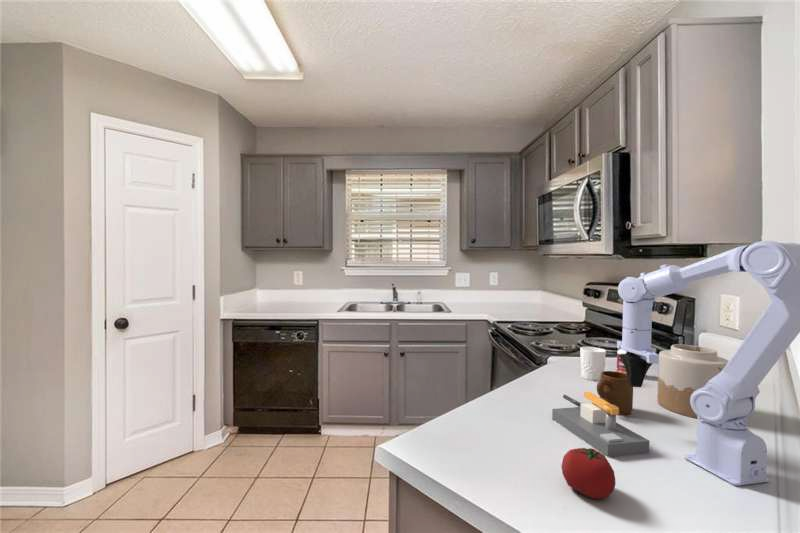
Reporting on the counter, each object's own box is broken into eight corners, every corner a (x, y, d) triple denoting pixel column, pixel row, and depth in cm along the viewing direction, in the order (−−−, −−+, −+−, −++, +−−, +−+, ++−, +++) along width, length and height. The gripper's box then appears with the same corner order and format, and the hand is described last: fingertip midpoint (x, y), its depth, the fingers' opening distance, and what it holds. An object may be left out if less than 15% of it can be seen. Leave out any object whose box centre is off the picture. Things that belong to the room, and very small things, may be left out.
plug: (607, 422, 83) (608, 409, 83) (592, 423, 82) (593, 410, 82) (571, 401, 95) (571, 390, 95) (557, 402, 94) (558, 391, 94)
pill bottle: (616, 376, 127) (617, 345, 127) (615, 371, 133) (616, 342, 133) (637, 379, 125) (638, 347, 124) (635, 374, 130) (636, 344, 130)
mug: (612, 421, 90) (613, 383, 90) (583, 410, 96) (584, 374, 96) (638, 412, 96) (639, 376, 96) (609, 402, 102) (610, 369, 102)
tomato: (597, 477, 65) (598, 437, 65) (626, 507, 57) (627, 462, 57) (553, 477, 65) (554, 437, 65) (577, 507, 57) (578, 461, 57)
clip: (621, 414, 78) (621, 409, 78) (609, 414, 78) (609, 409, 78) (592, 396, 89) (592, 391, 89) (581, 396, 88) (581, 391, 88)
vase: (684, 419, 91) (686, 354, 91) (645, 397, 107) (646, 341, 107) (745, 422, 91) (748, 356, 91) (697, 399, 106) (699, 343, 106)
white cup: (574, 375, 127) (575, 347, 126) (589, 373, 130) (590, 345, 130) (594, 382, 119) (595, 352, 119) (610, 380, 123) (611, 350, 123)
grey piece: (649, 452, 74) (650, 423, 74) (607, 456, 72) (608, 427, 72) (586, 416, 92) (587, 392, 92) (552, 418, 90) (552, 394, 90)
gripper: (674, 335, 77) (673, 398, 77) (638, 324, 92) (637, 377, 92) (639, 333, 78) (637, 396, 78) (609, 323, 92) (607, 376, 92)
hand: (635, 386), depth 85 cm, fingers closed
